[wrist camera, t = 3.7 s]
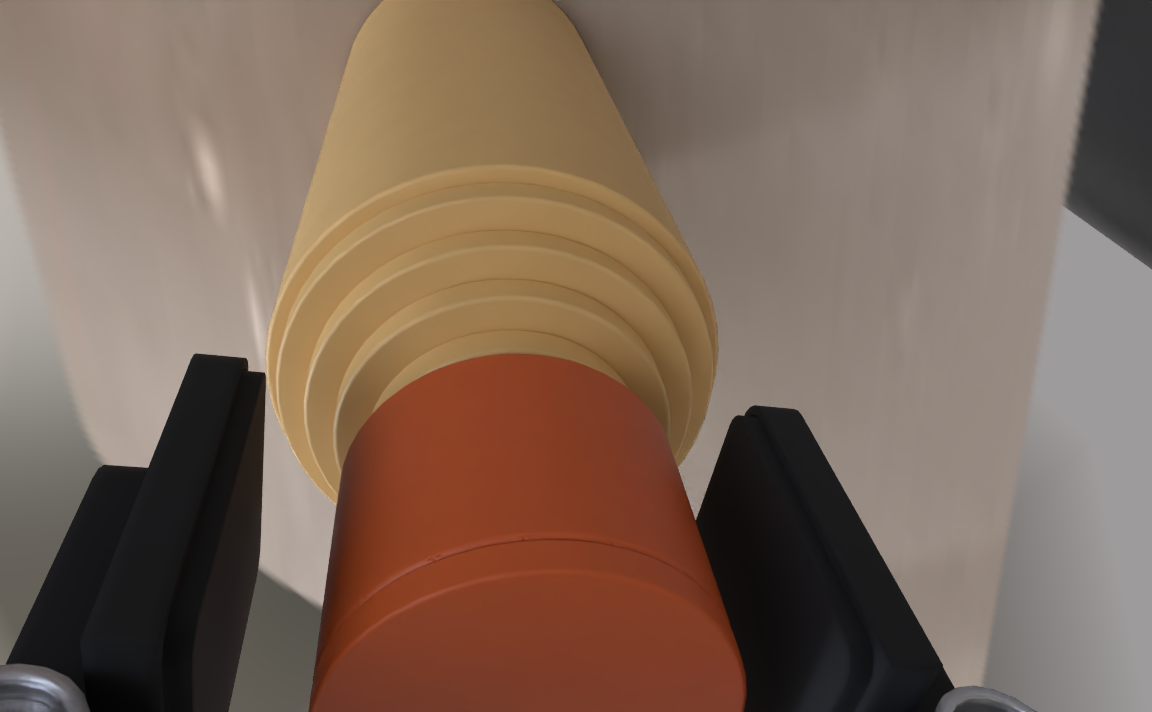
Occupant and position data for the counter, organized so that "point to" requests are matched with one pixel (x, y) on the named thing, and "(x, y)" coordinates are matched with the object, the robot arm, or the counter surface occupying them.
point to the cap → (519, 555)
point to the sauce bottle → (479, 230)
